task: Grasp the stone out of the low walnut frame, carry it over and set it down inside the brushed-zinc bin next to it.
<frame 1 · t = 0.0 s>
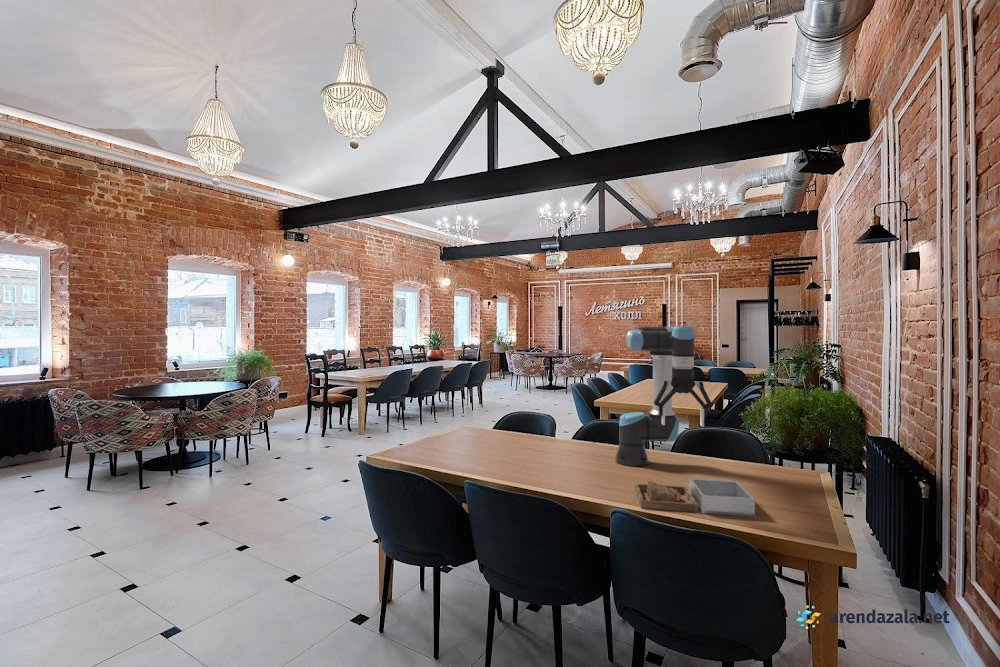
hand: (682, 425, 174), 28 cm above the table, fingers open, 13 cm apart
stone: (664, 501, 174), on the table
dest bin: (719, 504, 170), on the table
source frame: (664, 500, 174), on the table
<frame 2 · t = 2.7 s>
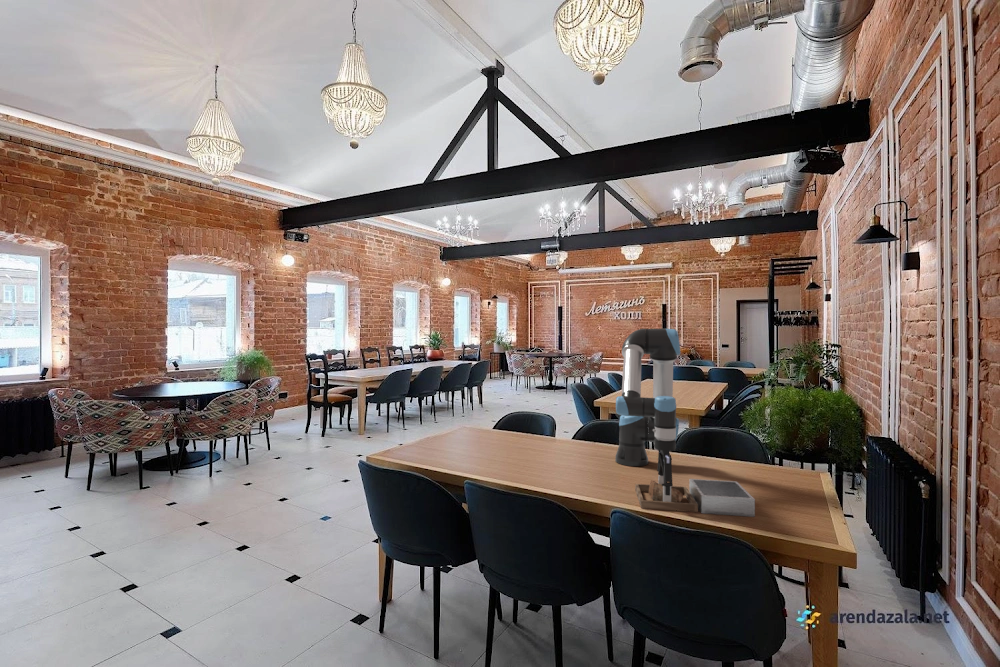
hand: (664, 498, 174), 1 cm above the table, fingers closed on stone, 10 cm apart
stone: (666, 501, 174), on the table, touching gripper
when the fingers open (4 cm above the table, at t = 8.3 s): stone drops 2 cm, resting on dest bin.
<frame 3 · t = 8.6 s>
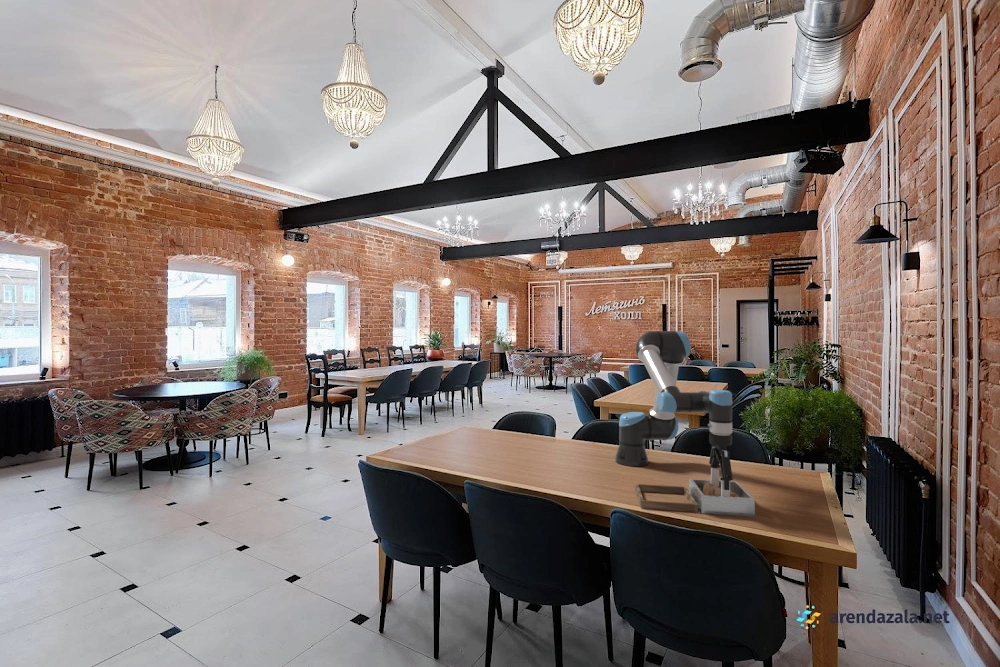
hand: (720, 492, 170), 5 cm above the table, fingers open, 13 cm apart
stone: (722, 503, 169), point 1 cm above the table, touching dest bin
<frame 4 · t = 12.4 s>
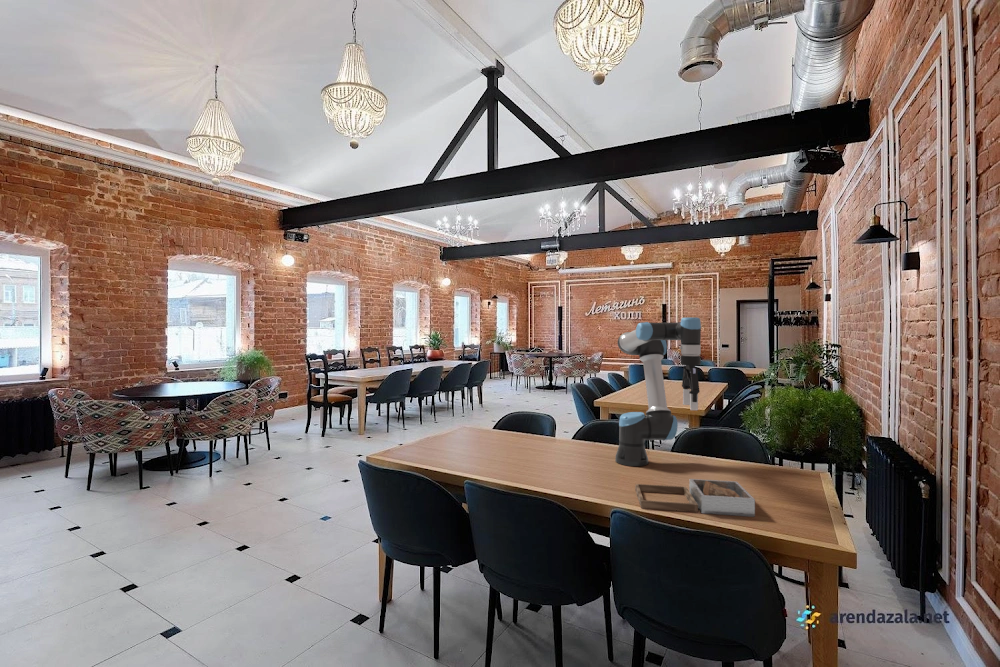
hand: (690, 407, 191), 32 cm above the table, fingers open, 13 cm apart
nothing on the table moved.
at the end: stone inside the target area on the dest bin (1.2 cm from its centre), point 0.8 cm above the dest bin's base; the gripper is holding nothing; stone touching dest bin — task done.
